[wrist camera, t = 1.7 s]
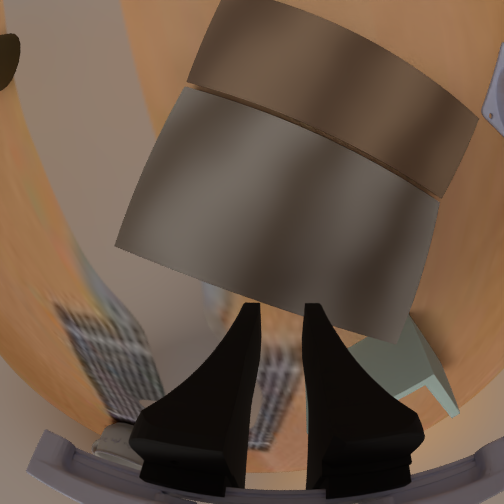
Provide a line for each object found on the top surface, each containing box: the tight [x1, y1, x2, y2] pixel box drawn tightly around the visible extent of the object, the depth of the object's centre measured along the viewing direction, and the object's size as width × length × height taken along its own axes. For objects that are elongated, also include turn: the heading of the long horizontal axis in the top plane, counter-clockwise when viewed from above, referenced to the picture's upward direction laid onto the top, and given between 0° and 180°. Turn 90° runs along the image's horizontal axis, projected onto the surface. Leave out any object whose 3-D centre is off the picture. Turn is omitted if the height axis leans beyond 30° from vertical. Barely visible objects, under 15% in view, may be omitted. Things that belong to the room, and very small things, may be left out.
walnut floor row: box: [187, 0, 479, 199], centre depth 14 cm, size 18×7×2 cm, turn 69°
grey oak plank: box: [115, 87, 440, 344], centre depth 16 cm, size 18×10×2 cm, turn 69°
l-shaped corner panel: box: [305, 314, 460, 434], centre depth 24 cm, size 12×12×8 cm
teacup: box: [92, 422, 144, 470], centre depth 39 cm, size 14×11×8 cm
